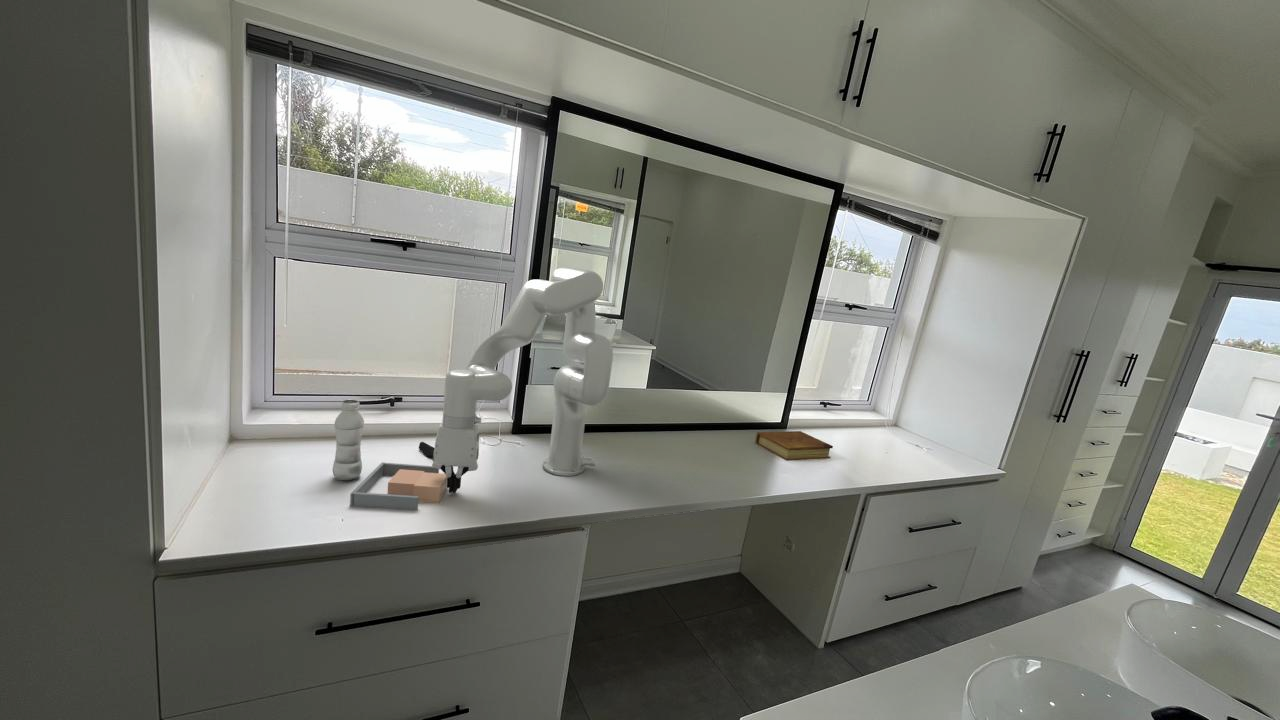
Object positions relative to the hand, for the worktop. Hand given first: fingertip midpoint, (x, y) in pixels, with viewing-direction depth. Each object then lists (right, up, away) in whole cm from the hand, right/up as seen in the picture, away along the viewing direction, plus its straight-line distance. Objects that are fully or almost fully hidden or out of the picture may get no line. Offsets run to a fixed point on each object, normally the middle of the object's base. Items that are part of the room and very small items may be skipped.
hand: (453, 490), depth 122 cm
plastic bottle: (-27, +3, +1) cm, 27 cm away
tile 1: (-11, 0, -2) cm, 11 cm away
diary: (+108, -5, +75) cm, 132 cm away
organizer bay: (-13, +1, -2) cm, 13 cm away
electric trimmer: (-13, +4, +20) cm, 24 cm away
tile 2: (-5, -1, -1) cm, 5 cm away
